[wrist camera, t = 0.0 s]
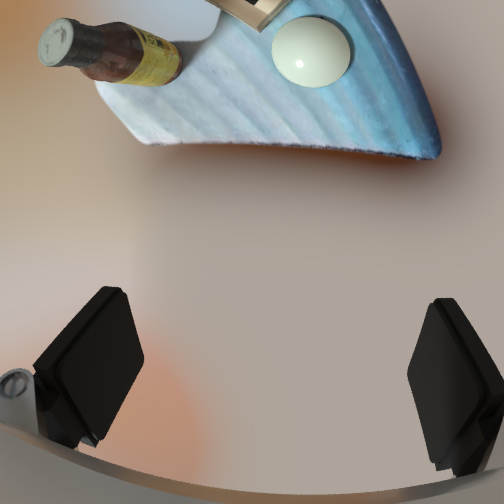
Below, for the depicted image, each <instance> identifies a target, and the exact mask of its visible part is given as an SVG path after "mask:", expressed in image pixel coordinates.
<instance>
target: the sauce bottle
mask: <svg viewBox="0 0 504 504" xmlns="http://www.w3.org/2000/svg"><path fill="white" fill-rule="evenodd" d="M38 55H39V59H40V61H41V62H42V63H43V64H44V65H46V66H50V67H61V66H64V65H68V66H74V67H77V68H79V69H80V70H81V71H82V73H83V74H84V75H86V76H87V77H89V78H90V79H93V80H97V81H107V82H110V83H121V84H131V85H140V86H150V87H155V86H162V85H165V84H168V83H170V82H172V81H173V80H174V79H175V78H176V77H177V75H178V74H179V72H180V70H181V67H182V56H181V53H180V51H179V50H178V49H177V48H176V47H175V46H174V45H173V44H172V43H170V42H168V41H166V40H164V39H162V38H160V37H157V36H155V35H153V34H151V33H149V32H146V31H144V30H141V29H139V28H136V27H134V26H131V25H129V24H126V23H123V22H113V23H107V24H103V25H98V26H88V25H84V24H80V23H79V21H77V20H74V19H68V18H60V19H57V20H56V21H54V22H52V23H51V24H50V25H49V26H48V27H47V28H46V29H45V31H44V32H43V34H42V36H41V38H40V41H39V45H38Z"/></svg>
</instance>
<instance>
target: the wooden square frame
mask: <svg viewBox="0 0 504 504" xmlns="http://www.w3.org/2000/svg"><path fill="white" fill-rule="evenodd" d="M206 1H207V2H209V3H211V4H213V5H215V6H216V7H218V8H220V9H222V10H223V11H225V12H227V13H228V14H230V15H232V16H233V17H235V18H237V19H238V20H240V21H242V22H243V23H245V24H246V25H248V26H249V27H251V28H253V29H254V30H256V31H257V32H259V33H260V32H261V31H262V30H263V29H264V28H265V27H266V26H267V25H268V23H269V22H270V21H271V20H272V19H273V18H274V17H275V16H276V15H277V14H278V13H279V12H280V11H281V10H282V9H283V8H284V7H285V6H286V5H287V4H288V3H289V2H290V1H291V0H259V1H258V2H257V3H256V4H255V5H254V6H253V5H252V4H250V3H248V2H247V1H245V0H206Z"/></svg>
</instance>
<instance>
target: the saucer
mask: <svg viewBox="0 0 504 504" xmlns="http://www.w3.org/2000/svg"><path fill="white" fill-rule="evenodd" d="M272 56H273V60H274V63H275V65H276V67H277V69H278V70H279V72H280V73H281V74H282V75H283V76H284V77H285V78H286V79H288V80H289V81H291V82H292V83H294V84H296V85H299V86H303V87H308V88H319V87H324V86H327V85H330V84H332V83H334V82H335V81H336V80H338V79H339V78H340V77H341V76H342V75H343V74H344V73H345V71H346V69H347V68H348V65H349V62H350V48H349V44H348V41H347V39H346V37H345V36H344V35H343V33H342V32H341V31H340V30H339V29H338V28H337V27H336V26H335V25H333V24H332V23H330V22H328V21H326V20H323V19H320V18H315V17H301V18H297V19H294V20H291V21H289V22H287V23H286V24H285V25H283V26H282V27H281V28H280V29H279V30H278V32H277V33H276V35H275V37H274V39H273V43H272Z"/></svg>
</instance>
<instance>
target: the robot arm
mask: <svg viewBox="0 0 504 504" xmlns="http://www.w3.org/2000/svg"><path fill="white" fill-rule="evenodd" d="M143 363H144V354H143V351H142V348H141V344H140V341H139V338H138V334H137V331H136V327H135V324H134V320H133V316H132V312H131V309H130V305H129V302H128V298H127V294H126V293H124V292H123V291H122V289H121V288H119V287H109V286H104V287H102V288H101V289H100V290H99V291H98V292H97V293H96V294H95V295H94V296H93V297H92V298H91V299H90V301H89V302H88V303H87V304H86V305H85V306H84V307H83V308H82V309H81V311H79V313H78V314H77V315H76V316H75V317H74V318H73V319H72V320H71V321H70V322H69V323H68V325H67V326H66V327H65V328H64V329H63V330H62V331H61V332H60V334H59V335H58V336H57V337H56V338H55V339H54V341H53V342H52V343H51V344H50V345H49V346H48V348H47V349H46V350H45V351H44V352H43V354H42V355H41V356H40V357H39V358H38V359H37V360H36V362H35V363H34V364H33V367H34V369H35V371H36V373H35V374H34V375H32V373H31V372H30V371H28V370H26V369H22V368H18V369H13V370H10V371H8V372H6V373H5V374H3V375H2V376H1V377H0V504H504V380H503V378H502V376H501V374H500V372H499V370H498V368H497V367H496V365H495V363H494V361H493V360H492V358H491V356H490V354H489V353H488V351H487V349H486V348H485V346H484V344H483V343H482V341H481V339H480V338H479V336H478V335H477V333H476V331H475V330H474V328H473V327H472V325H471V323H470V322H469V320H468V319H467V317H466V316H465V314H464V313H463V311H462V310H461V308H460V307H459V305H458V304H457V302H456V301H455V300H454V299H453V298H437V299H435V300H434V302H433V303H430V305H429V306H428V309H427V312H426V316H425V319H424V323H423V326H422V329H421V332H420V335H419V338H418V341H417V344H416V347H415V350H414V353H413V356H412V358H411V361H410V364H409V367H408V371H407V372H408V373H407V376H408V381H409V383H410V387H411V391H412V394H413V397H414V401H415V404H416V408H417V411H418V415H419V419H420V422H421V426H422V430H423V434H424V438H425V442H426V446H427V450H428V454H429V459H430V461H431V462H432V463H435V466H436V471H441V470H446V469H450V468H452V471H453V477H452V478H451V479H449V480H445V481H440V482H435V483H429V484H424V485H418V486H412V487H406V488H399V489H392V490H384V491H376V492H365V493H352V494H329V495H292V494H269V493H257V492H246V491H237V490H229V489H221V488H215V487H208V486H202V485H196V484H191V483H186V482H181V481H176V480H171V479H167V478H162V477H158V476H154V475H151V474H147V473H143V472H139V471H136V470H132V469H129V468H125V467H122V466H119V465H116V464H112V463H109V462H106V461H103V460H100V459H98V458H95V457H92V456H89V455H86V454H84V453H81V452H79V450H78V444H79V442H80V441H81V442H82V443H84V444H87V445H89V446H92V447H96V446H97V444H98V442H99V440H100V441H101V440H103V439H104V438H105V436H106V434H107V432H108V430H109V428H110V426H111V424H112V422H113V420H114V419H115V417H116V415H117V413H118V411H119V409H120V407H121V405H122V403H123V401H124V399H125V398H126V396H127V394H128V392H129V390H130V388H131V386H132V385H133V383H134V381H135V379H136V377H137V375H138V373H139V372H140V370H141V368H142V366H143Z"/></svg>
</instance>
